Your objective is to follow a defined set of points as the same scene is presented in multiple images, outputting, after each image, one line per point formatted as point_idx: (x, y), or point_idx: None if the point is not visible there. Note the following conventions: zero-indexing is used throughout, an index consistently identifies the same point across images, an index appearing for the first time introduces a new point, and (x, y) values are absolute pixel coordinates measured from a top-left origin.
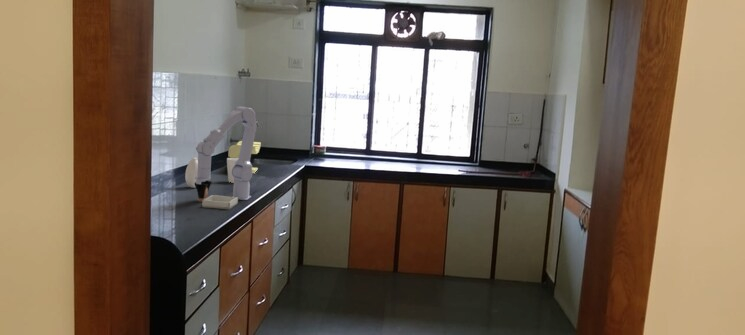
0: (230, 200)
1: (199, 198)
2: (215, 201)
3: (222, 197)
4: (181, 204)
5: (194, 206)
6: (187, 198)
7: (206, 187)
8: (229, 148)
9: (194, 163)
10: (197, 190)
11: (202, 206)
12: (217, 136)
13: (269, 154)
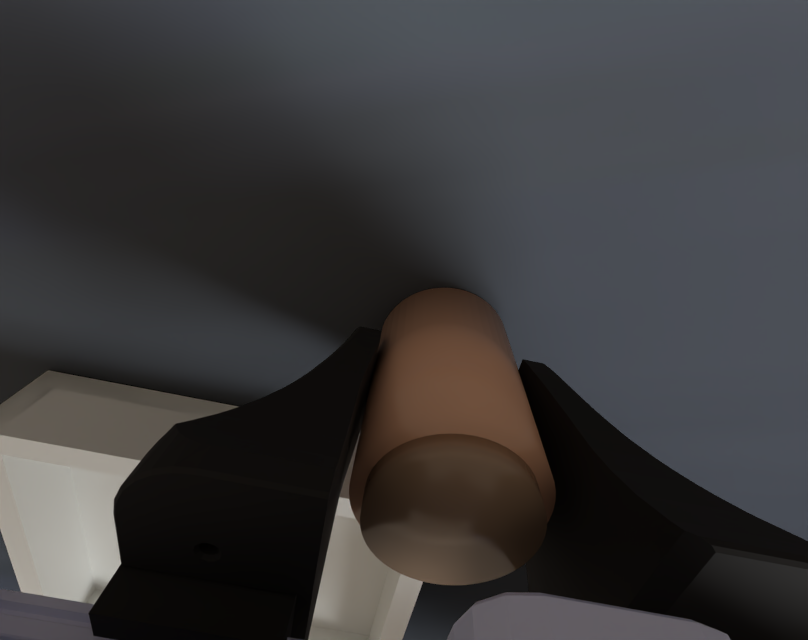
0: (377, 618)
1: (386, 332)
2: (9, 554)
3: (391, 591)
4: (47, 63)
5: (27, 281)
6: (627, 89)
7: (413, 572)
8: None
9: None
10: (295, 386)
11: (43, 377)
12: None
13: None
